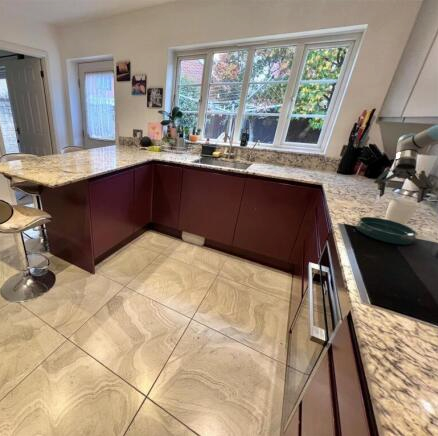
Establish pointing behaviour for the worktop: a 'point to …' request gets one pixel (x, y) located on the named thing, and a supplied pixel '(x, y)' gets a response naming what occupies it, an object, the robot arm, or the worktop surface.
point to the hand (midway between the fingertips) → (400, 198)
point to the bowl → (386, 230)
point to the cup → (401, 210)
